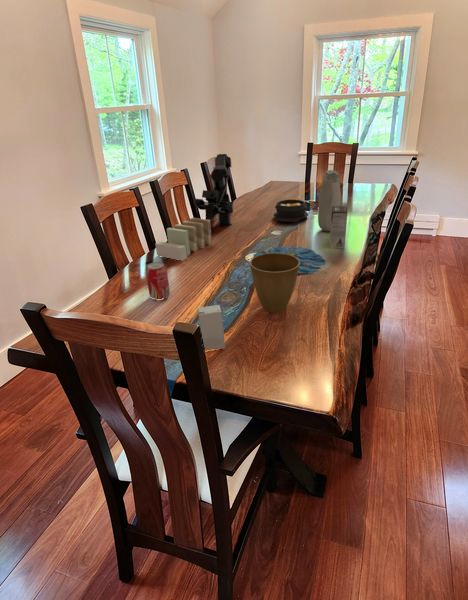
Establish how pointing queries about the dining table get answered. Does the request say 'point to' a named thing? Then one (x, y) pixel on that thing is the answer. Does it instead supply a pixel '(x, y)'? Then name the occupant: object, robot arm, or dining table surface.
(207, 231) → the maple tile
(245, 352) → the dining table surface
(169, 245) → the block
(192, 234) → the maple tile
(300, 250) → the decorative plate
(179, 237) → the sage end tile
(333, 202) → the grey bottle
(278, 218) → the casserole
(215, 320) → the skincare box
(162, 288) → the soda can
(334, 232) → the coffee box
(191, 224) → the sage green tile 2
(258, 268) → the plant pot
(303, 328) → the dining table surface
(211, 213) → the robot arm
